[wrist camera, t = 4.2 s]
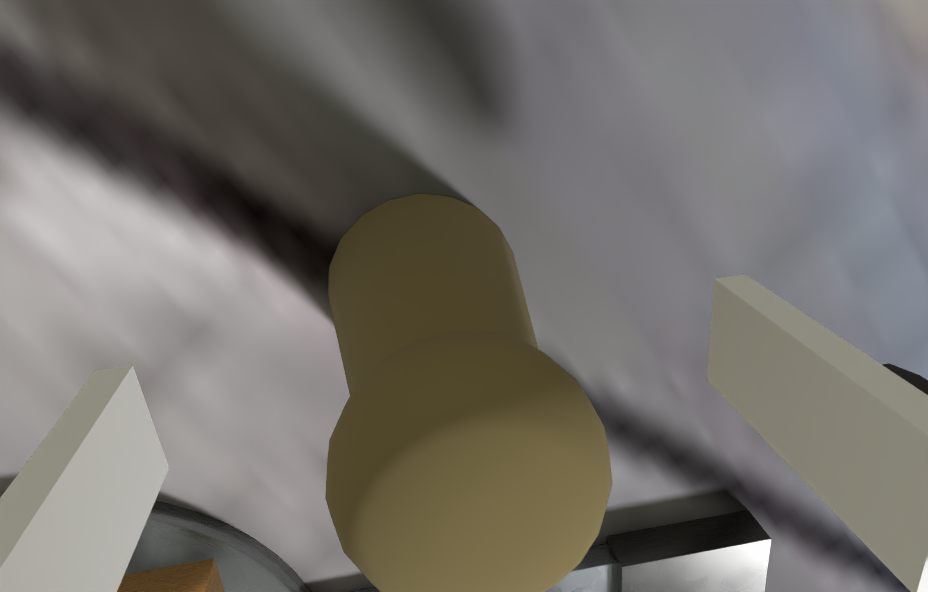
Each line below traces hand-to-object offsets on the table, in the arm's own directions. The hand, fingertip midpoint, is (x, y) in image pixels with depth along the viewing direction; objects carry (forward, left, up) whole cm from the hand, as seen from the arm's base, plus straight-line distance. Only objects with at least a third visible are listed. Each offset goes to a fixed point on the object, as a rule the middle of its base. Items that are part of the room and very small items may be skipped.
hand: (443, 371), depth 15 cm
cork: (0, 0, -6) cm, 6 cm away
